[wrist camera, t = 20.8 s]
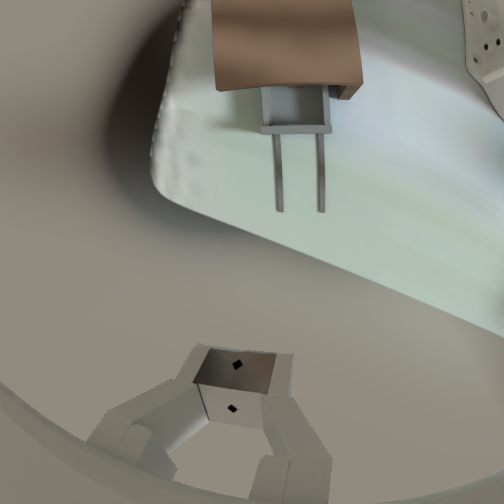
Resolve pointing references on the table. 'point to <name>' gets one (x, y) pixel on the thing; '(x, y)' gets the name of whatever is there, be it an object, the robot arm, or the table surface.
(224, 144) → the table surface
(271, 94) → the tray
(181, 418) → the robot arm
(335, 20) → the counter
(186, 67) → the table surface
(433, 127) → the table surface
